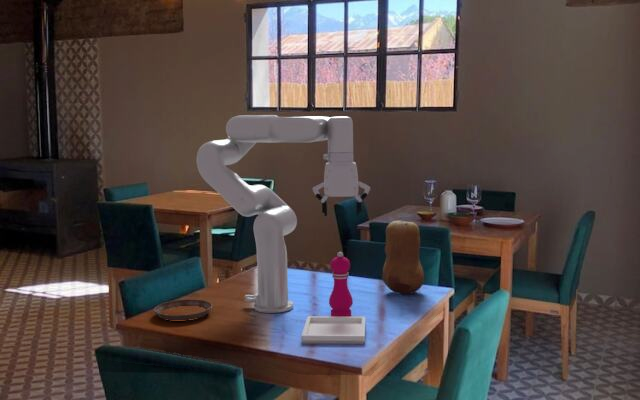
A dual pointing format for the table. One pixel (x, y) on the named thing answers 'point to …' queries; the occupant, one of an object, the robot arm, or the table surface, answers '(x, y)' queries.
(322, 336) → the tray
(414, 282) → the butternut squash
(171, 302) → the plant saucer
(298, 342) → the table surface
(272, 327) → the table surface
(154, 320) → the table surface
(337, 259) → the pepper mill
